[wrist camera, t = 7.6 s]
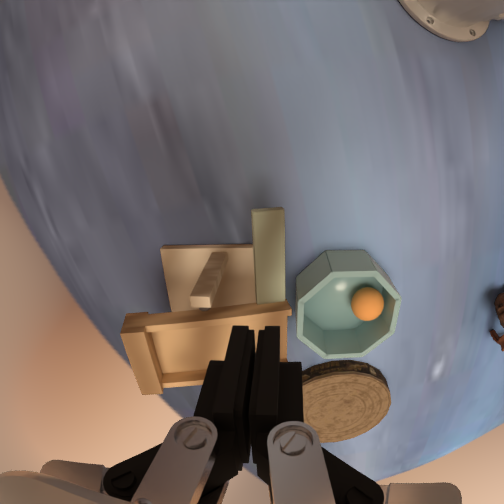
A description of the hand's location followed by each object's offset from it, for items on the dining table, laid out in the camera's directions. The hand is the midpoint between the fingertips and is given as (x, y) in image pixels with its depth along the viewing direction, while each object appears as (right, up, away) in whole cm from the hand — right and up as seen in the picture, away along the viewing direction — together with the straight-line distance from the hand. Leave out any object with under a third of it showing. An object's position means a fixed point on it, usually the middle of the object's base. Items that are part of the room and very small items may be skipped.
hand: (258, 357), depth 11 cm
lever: (-4, -1, +16) cm, 16 cm away
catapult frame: (-3, -1, +25) cm, 25 cm away
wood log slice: (+12, -17, +31) cm, 37 cm away
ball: (+12, -2, +21) cm, 24 cm away
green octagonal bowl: (+10, -1, +23) cm, 25 cm away
